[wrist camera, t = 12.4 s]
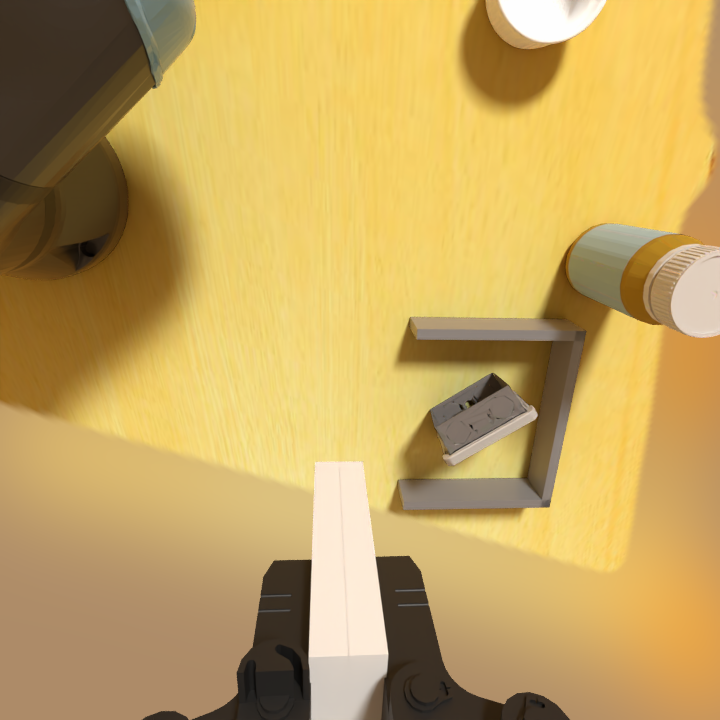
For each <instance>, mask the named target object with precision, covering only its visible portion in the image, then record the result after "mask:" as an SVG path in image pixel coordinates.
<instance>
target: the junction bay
mask: <svg viewBox="0 0 720 720" xmlns="http://www.w3.org/2000/svg"><path fill="white" fill-rule="evenodd" d="M409 327H410V329H411V330H412V332H413V334H414V336H415V337H416V339H422V340H525V341H553V342H552V348H551V353H550V358H549V364H548V369H547V375H546V380H545V385H544V391H543V396H542V401H541V407H540V412H539V418H538V423H537V428H536V434H535V439H534V445H533V450H532V455H531V461H530V466H529V472H528V477H527V478H488V479H409V480H398V490H399V494H400V498H401V503H402V507H403V510H425V509H482V508H539V507H550V502H551V497H552V492H553V488H554V483H555V478H556V473H557V469H558V464H559V459H560V454H561V450H562V445H563V440H564V435H565V431H566V426H567V421H568V416H569V412H570V407H571V402H572V397H573V393H574V388H575V383H576V378H577V374H578V369H579V364H580V359H581V354H582V350H583V345H584V340H585V335H586V330H584V329H582V328H581V327H579V326H577V325H575V324H574V323H572V322H570V321H569V320H567V319H520V318H445V317H410V326H409Z"/></svg>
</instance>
